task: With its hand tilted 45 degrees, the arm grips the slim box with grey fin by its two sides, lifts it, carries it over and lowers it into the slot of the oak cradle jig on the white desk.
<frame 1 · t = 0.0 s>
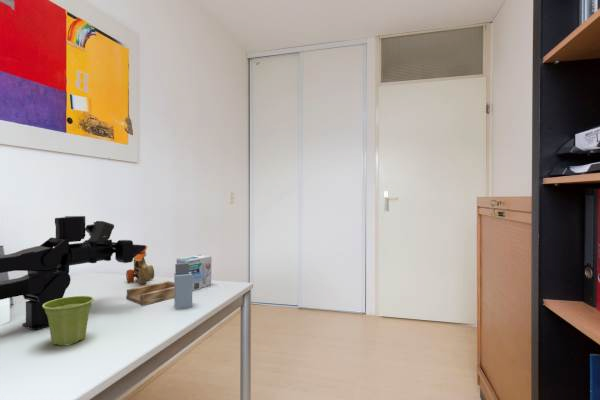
hand: (135, 246, 106), 17 cm above the table, tool horizontal, fingers open, 9 cm apart
plant pot: (69, 341, 75), on the table
cradle: (156, 296, 108), on the table
box with grey fin: (183, 306, 98), on the table
toy helicopter: (143, 284, 124), on the table
light bulb box: (194, 287, 120), on the table
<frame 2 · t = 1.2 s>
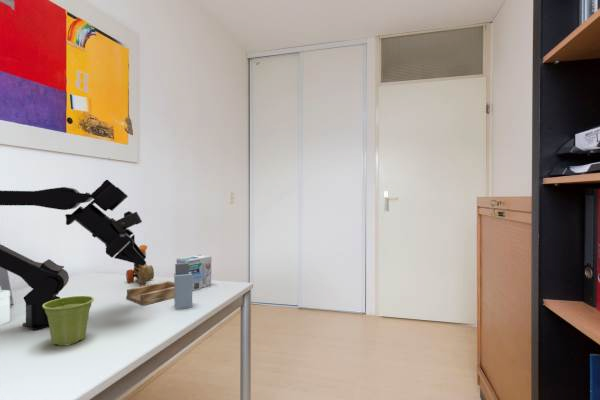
hand: (145, 261, 94), 14 cm above the table, tool tilted 45°, fingers open, 9 cm apart
nothing on the table moved.
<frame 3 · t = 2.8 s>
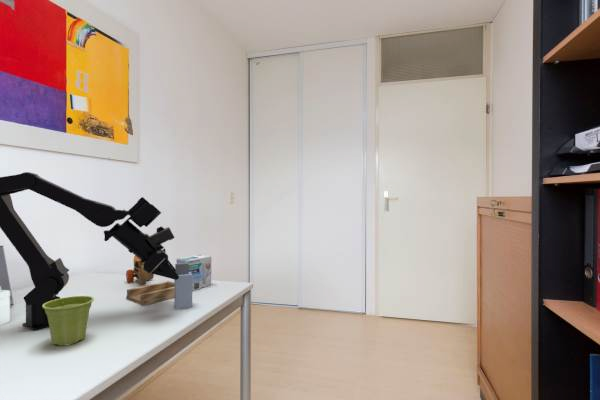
hand: (176, 275, 98), 9 cm above the table, tool tilted 45°, fingers open, 9 cm apart
nothing on the table moved.
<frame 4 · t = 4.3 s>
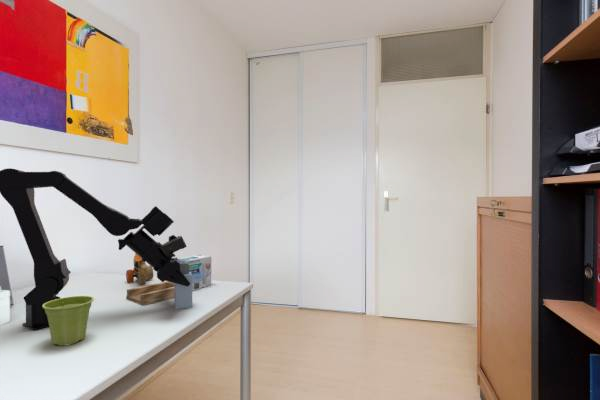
hand: (188, 283, 99), 7 cm above the table, tool tilted 45°, fingers closed on box with grey fin, 4 cm apart
box with grey fin: (183, 306, 98), on the table, touching gripper
everything else where it was.
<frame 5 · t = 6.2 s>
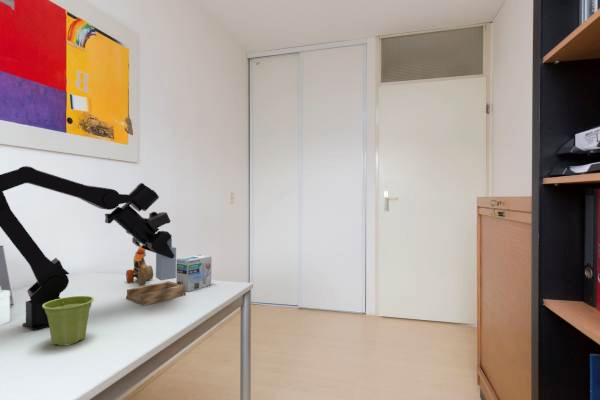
hand: (170, 256, 106), 13 cm above the table, tool tilted 45°, fingers closed on box with grey fin, 4 cm apart
box with grey fin: (165, 278, 105), point 7 cm above the table, touching gripper
everything else where it was.
when the fingers open (8 cm above the table, at t = 8.1 s): box with grey fin stays where it is, resting on cradle.
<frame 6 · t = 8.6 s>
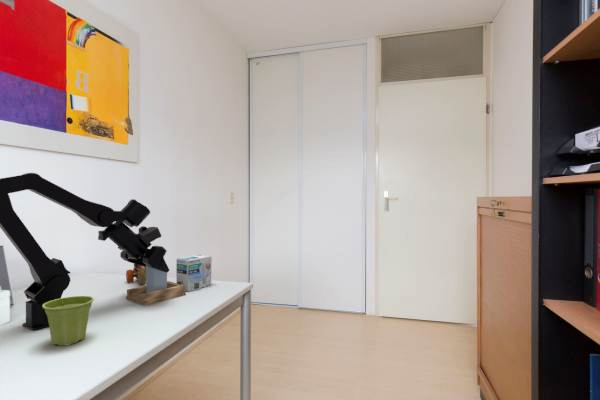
hand: (160, 269, 109), 9 cm above the table, tool tilted 45°, fingers open, 9 cm apart
box with grey fin: (156, 293, 108), point 1 cm above the table, touching cradle
everything else where it was.
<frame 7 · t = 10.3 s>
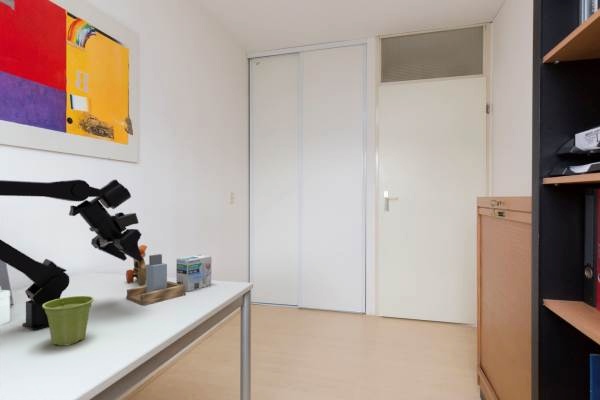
hand: (133, 260, 101), 13 cm above the table, tool tilted 35°, fingers open, 9 cm apart
nothing on the table moved.
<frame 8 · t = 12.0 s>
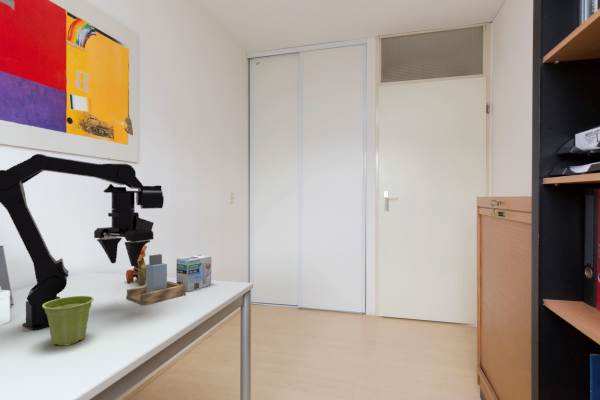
hand: (123, 264, 94), 13 cm above the table, tool pointing down, fingers open, 9 cm apart
nothing on the table moved.
at the end: box with grey fin 0.0 cm off-centre on the cradle, point 1.0 cm above the cradle's base; box with grey fin tilted 0°; the gripper is holding nothing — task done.
